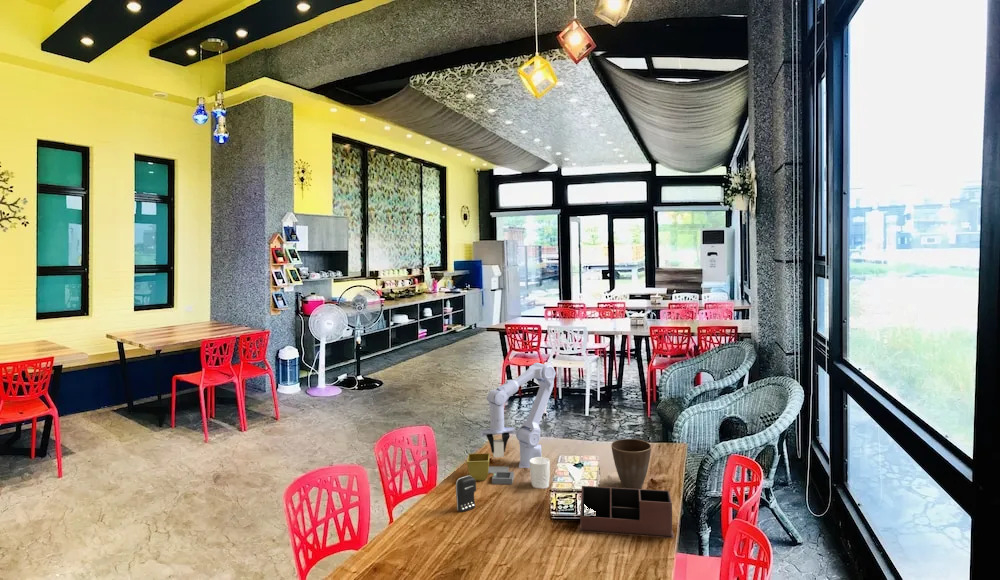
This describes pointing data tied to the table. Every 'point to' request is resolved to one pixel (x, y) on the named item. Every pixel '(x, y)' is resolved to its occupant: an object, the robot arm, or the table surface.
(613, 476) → the table surface
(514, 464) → the table surface
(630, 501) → the desk organizer
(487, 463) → the flower pot
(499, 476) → the socket housing
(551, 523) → the table surface
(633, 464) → the plant pot
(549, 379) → the robot arm
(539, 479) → the white cup
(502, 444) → the plug
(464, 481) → the battery charger
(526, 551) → the table surface
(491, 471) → the mat
